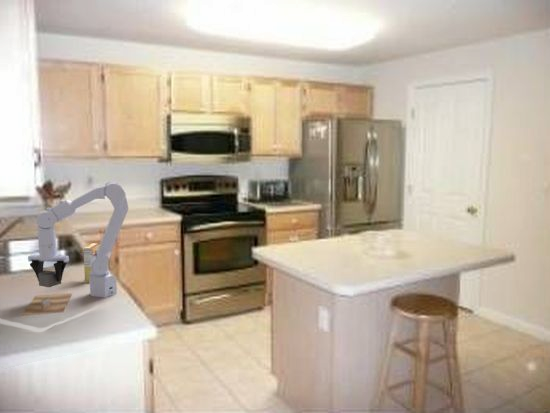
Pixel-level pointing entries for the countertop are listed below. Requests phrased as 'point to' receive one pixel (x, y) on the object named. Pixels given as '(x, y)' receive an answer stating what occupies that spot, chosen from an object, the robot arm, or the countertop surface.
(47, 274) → the knob
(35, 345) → the countertop surface
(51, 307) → the parts board
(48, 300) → the speckled beige tile
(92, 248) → the candy box
